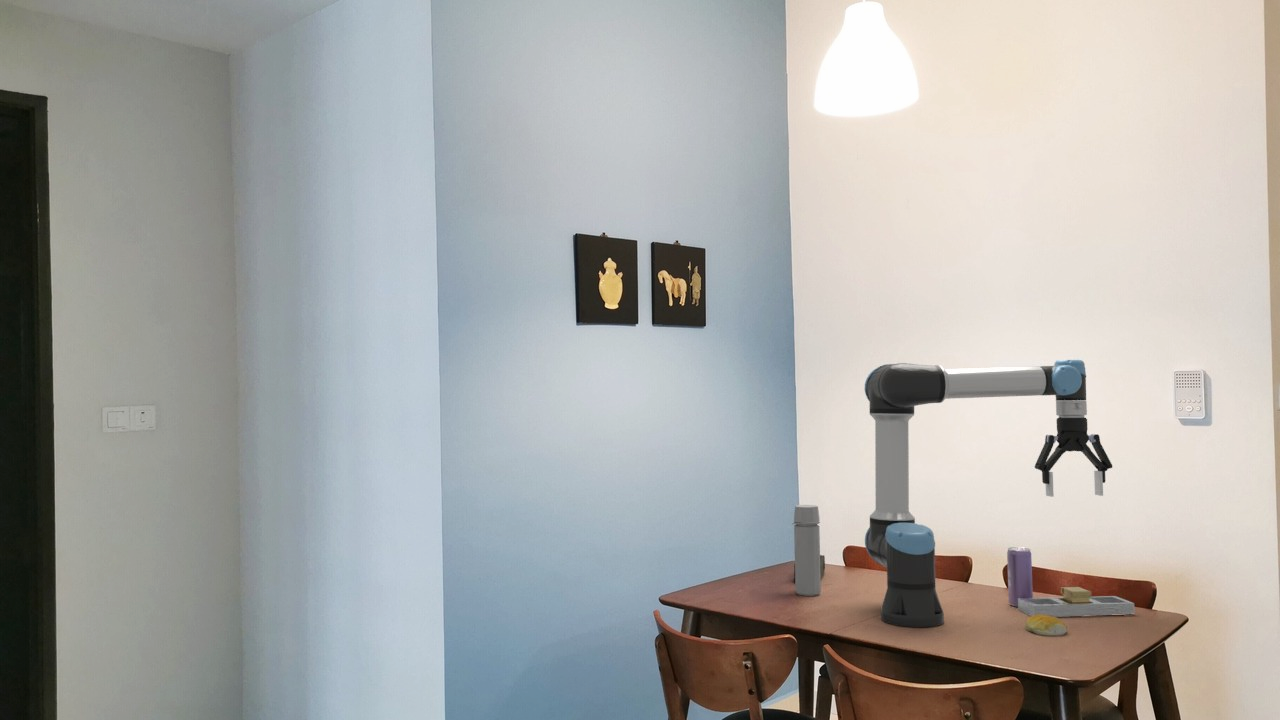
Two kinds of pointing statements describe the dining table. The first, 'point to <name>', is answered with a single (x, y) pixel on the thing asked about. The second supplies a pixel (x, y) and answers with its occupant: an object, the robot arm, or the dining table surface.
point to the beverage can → (1019, 574)
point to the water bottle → (807, 550)
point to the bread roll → (1045, 625)
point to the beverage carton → (822, 566)
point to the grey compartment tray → (1075, 606)
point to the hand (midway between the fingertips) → (1074, 495)
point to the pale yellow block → (1075, 595)
